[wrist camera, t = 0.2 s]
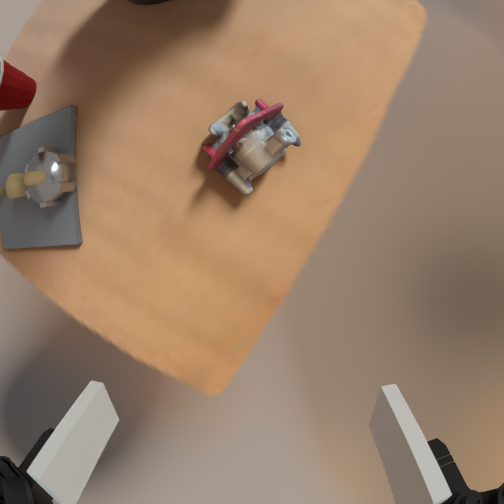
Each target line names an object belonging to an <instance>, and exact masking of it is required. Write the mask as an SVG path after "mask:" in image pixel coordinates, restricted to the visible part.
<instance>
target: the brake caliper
mask: <svg viewBox="0 0 504 504" xmlns="http://www.w3.org/2000/svg"><path fill="white" fill-rule="evenodd" d="M255 104H256V108H255V110H254V111H249V109H248V107H247V104H246V103H245V102H244V101H241V102H238V103H236V104H235V105H234V106H233V107H232V108H231V109H230V110H229V111H228V113H227V114H226V115H224V116H223V117H222V118H220V119H219V120H217V121H216V122H215V123H214V124H213V125H211V126H210V127H209V132H210V133H211V134H212V135H213V137H214V139H215V141H214V143H208V144H205V145H204V146H203V147H202V149H203V150H204V152H206V153H207V154H208V156H209V157H210V158H211V160H210V162H209V163H208V165H207V168H208V169H209V170H211V169H215V170H217V171H218V172H219V173H220V174H221V175H222V176H223V177H225V178H226V179H227V180H228V181H230V182H231V183H232V184H233V185H234V186H235V187H236V188H237V189H238V190H239V191H241V192H242V193H243V194H244V195H249V194H250V193H251V192H252V191H253V188H252V185H251V181H252V179H253V178H255V177H256V176H259V175H261V174H262V173H264V172H265V171H266V170H267V169H269V168H270V167H271V166H272V165H273V164H274V163H275V162H276V161H277V160H278V159H280V158H281V157H282V156H283V155H284V154H285V153H286V148H287V147H288V146H289V145H290V144H293V145H295V146H300V145H301V140H300V138H299V135H298V133H297V132H296V131H295V130H294V129H293V127H292V126H291V124H290V122H289V121H288V120H286V119H285V118H284V117H283V115H282V113H281V110H282V108H283V106H284V105H283V104H282V103H278V104H276V105H274V106H271V107H269V106H268V105H267V104H266V103H265V102H264V101H263V100H262V99H257V100H256V101H255Z"/></svg>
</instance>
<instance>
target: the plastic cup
mask: <svg viewBox="0 0 504 504" xmlns="http://www.w3.org/2000/svg"><path fill="white" fill-rule="evenodd" d="M35 92H36V83H35V81H34V80H33V79H32V78H30V77H28V76H27V75H26V74H25V73H23V72H21V71H20V70H18V69H16V68H15V67H13V66H11V65H10V64H9V63H7V62H6V61H4V60H3V59H2V57H1V56H0V111H1V110H10V109H20V108H24V107H26V106H28V105H29V104H30V102H31V101H32V99H33V97H34V95H35Z"/></svg>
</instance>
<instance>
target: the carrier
mask: <svg viewBox="0 0 504 504" xmlns="http://www.w3.org/2000/svg"><path fill="white" fill-rule="evenodd" d="M76 110H77V107H75V106H72V105H71V106H69V107H66V108H63V109H61V110H58V111H56V112H53V113H51V114H48V115H46V116H44V117H41V118H39V119H37V120H35V121H32V122H30V123H28V124H26V125H24V126H22V127H20V128H18V129H16V130H14V131H12V132H10V133H8V134H6V135H4V136H2V137H1V138H0V233H1V239H2V246H3V249H16V248H29V247H43V246H58V245H74V244H79V243H82V235H81V227H80V219H79V209H78V198H77V183H76V186H75V189H74V191H70V192H69V193H68V194H67V196H66V197H64V198H63V199H62V204H58V205H53V206H48V207H42V208H40V203H37V202H35V201H34V200H33V199H29V200H28V198H27V195H26V193H25V192H26V191H27V186H28V185H37V184H43V183H44V181H45V173H44V171H27V172H26V173H25V172H24V171H25V168H26V164H27V163H30V162H31V160H32V159H33V157H34V156H35V155H36V154H38V149H39V148H42V147H54V148H60V152H61V153H65V154H72V155H73V157H74V159H75V161H76V156H75V137H76ZM73 167H74V181H75V182H76V162H75V163H74V164H73Z"/></svg>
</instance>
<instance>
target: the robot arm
mask: <svg viewBox="0 0 504 504" xmlns="http://www.w3.org/2000/svg"><path fill="white" fill-rule="evenodd" d="M129 1H131V2H133V3H136V4H142V5H147V4H156V3H160V2H164V1H167V0H129ZM118 421H119V418H118V416H117V414H116V412H115V409H114V407H113V405H112V403H111V401H110V398H109V396H108V393H107V391H106V389H105V386H104V384H103V383H101V382H96V381H91V382H90V383H89V384H88V385H87V387H86V388H85V390H84V391H83V392H82V393H81V395H80V396H79V397H78V399H77V400H76V401H75V403H74V404H73V406H72V407H71V408H70V410H69V411H68V412H67V414H66V415H65V417H64V418H63V419H62V421H61V422H60V423H59V425H58V426H57V427H56V429H52V428H50V429H48V430H47V431H45V432H44V433H43V434H42V435H41V437H40V438H39V440H38V442H36V444H35V445H34V447H33V448H32V449H31V451H30V452H29V454H28V455H27V456H26V458H25V459H24V461H23V462H22V464H21V465H20V466H19V467H18V468H17V467H16V466H15V464H14V463H13V462H12V461H11V460H10V459H9V458H8V457H5V456H0V504H53V502H52V499H53V498H54V499H55V500H56V501H57V502H58V503H59V504H76V503H77V501H78V499H79V497H80V495H81V493H82V490H83V489H84V487H85V485H86V483H87V481H88V478H89V477H90V475H91V473H92V471H93V469H94V467H95V465H96V463H97V461H98V459H99V457H100V455H101V453H102V451H103V450H104V447H105V445H106V444H107V442H108V440H109V438H110V436H111V434H112V433H113V431H114V429H115V427H116V425H117V423H118ZM369 426H370V429H371V432H372V434H373V437H374V440H375V443H376V445H377V448H378V451H379V454H380V457H381V460H382V462H383V466H384V469H385V472H386V474H387V477H388V481H389V483H390V487H391V490H392V493H393V496H394V499H395V502H396V504H504V483H503V484H502V485H501V486H500V487H499V488H497V489H493V490H489V491H485V492H477V491H475V490H470V489H469V488H468V486H467V485H466V483H465V481H464V479H463V477H462V475H461V473H460V471H459V469H458V467H457V466H456V463H455V462H454V460H453V458H452V456H451V455H450V452H449V451H448V449H447V447H446V445H445V444H444V443H442V442H441V441H440V440H439V439H437V438H436V439H434V440H431V441H428V442H427V441H426V439H425V438H424V435H423V433H422V431H421V429H420V428H419V426H418V424H417V422H416V420H415V418H414V416H413V414H412V413H411V411H410V409H409V407H408V405H407V404H406V402H405V400H404V398H403V396H402V394H401V393H400V391H399V389H398V387H397V386H396V384H392V385H387V386H382V387H381V389H380V392H379V395H378V398H377V402H376V405H375V408H374V411H373V414H372V417H371V420H370V423H369Z"/></svg>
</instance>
